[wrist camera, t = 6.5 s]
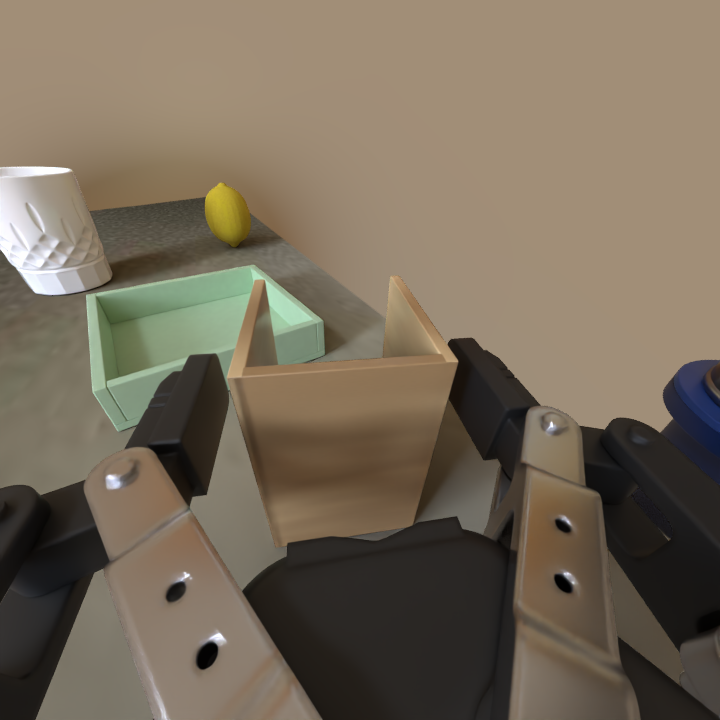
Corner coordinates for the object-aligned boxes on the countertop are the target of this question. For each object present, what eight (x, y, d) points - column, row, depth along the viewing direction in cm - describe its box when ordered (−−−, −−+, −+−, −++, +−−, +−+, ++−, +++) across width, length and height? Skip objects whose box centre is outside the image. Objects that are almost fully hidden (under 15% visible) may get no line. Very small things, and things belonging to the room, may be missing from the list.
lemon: (206, 246, 43) (189, 181, 39) (241, 239, 47) (230, 178, 42) (227, 256, 41) (211, 187, 36) (262, 247, 44) (253, 183, 39)
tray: (259, 293, 32) (254, 264, 30) (325, 355, 23) (324, 320, 22) (103, 328, 25) (85, 294, 24) (118, 432, 17) (91, 391, 15)
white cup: (129, 267, 36) (88, 167, 30) (102, 295, 30) (44, 177, 24) (50, 271, 34) (-11, 165, 29) (4, 301, 28) (-85, 176, 22)
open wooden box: (412, 527, 13) (459, 361, 8) (275, 548, 12) (225, 378, 7) (382, 422, 18) (399, 274, 13) (281, 432, 17) (254, 278, 12)
